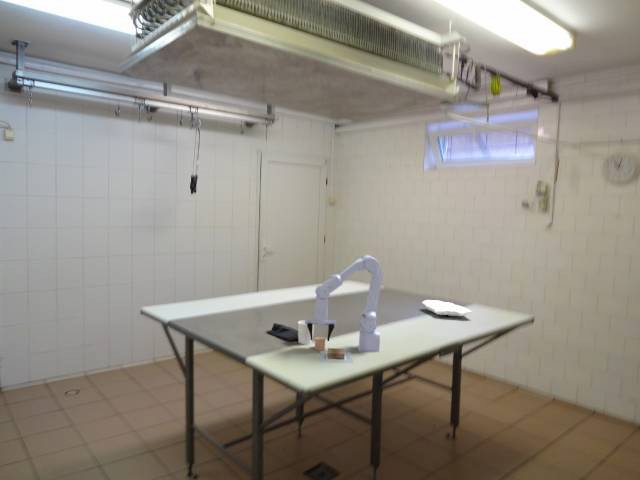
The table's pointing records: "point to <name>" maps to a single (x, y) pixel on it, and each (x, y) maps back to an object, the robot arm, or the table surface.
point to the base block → (336, 353)
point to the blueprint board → (325, 359)
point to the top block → (319, 343)
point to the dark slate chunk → (284, 332)
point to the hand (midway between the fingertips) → (319, 339)
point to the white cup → (304, 333)
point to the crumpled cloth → (446, 308)
